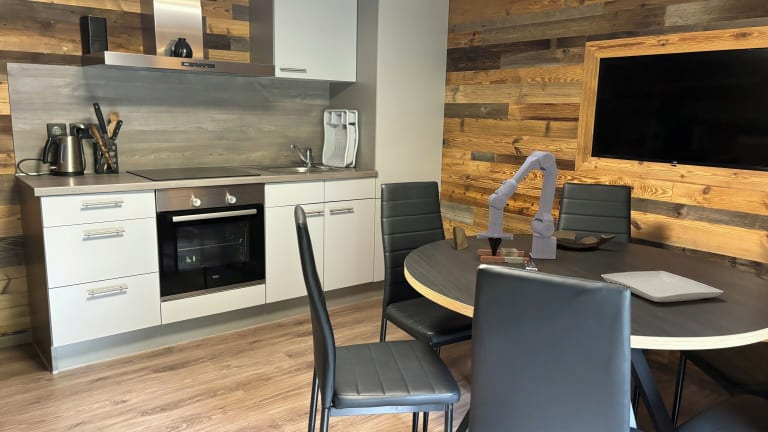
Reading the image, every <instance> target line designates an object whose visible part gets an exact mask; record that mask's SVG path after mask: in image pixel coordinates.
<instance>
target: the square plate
mask: <svg viewBox="0 0 768 432" xmlns="http://www.w3.org/2000/svg"><path fill="white" fill-rule="evenodd" d="M600 276H601V277H602V278H603V279H604V280H605V281H606V282H607V283H609V282H612V283H617V284H621V285H625V286H627V287H630V289H631V291H632V292H631V293H632V294H634V295H637V296H640V297H641V298H644V299H647V300H650V301H652V302H656V303H672V302H684V301H696V300H703V299H709V298H710V299H711V298H715V297H718V296H720V295H722V293H724V292H725V291H724V290H721V289H718V288H716V287H713V286H711V285H707V284H705V283H701V282H698V281H696V280H693V279H691V278H687V277H684V276H681V275H677V274H674V273H670V272H668V271H664V270H654V271H651V270H649V271H648V270H647V271H626V272H614V273H606V274H605V273H604V274H601V275H600Z"/></svg>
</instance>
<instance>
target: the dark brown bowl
mask: <svg viewBox="0 0 768 432" xmlns="http://www.w3.org/2000/svg"><path fill="white" fill-rule="evenodd" d="M551 236H553V237H556V244H558V245H561V247H566V248H569V249H585V248H586V249H587V248H590V247H591V248H592V247H595V248H599V247H602V246H604V245H605V244H606V243H609V242H610V241H612V240H614V239H615V238H616V237H617V235H616V234H613V235H609V236H606V235H604V234H601V235H600V239H598V238H597V237H595V236H593V235H591V236H586V237H584V238H582V239H580V240H579V241H576V236H577V233H576V232H574V231H566V230H554V233H553V234H552V235H551Z"/></svg>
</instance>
